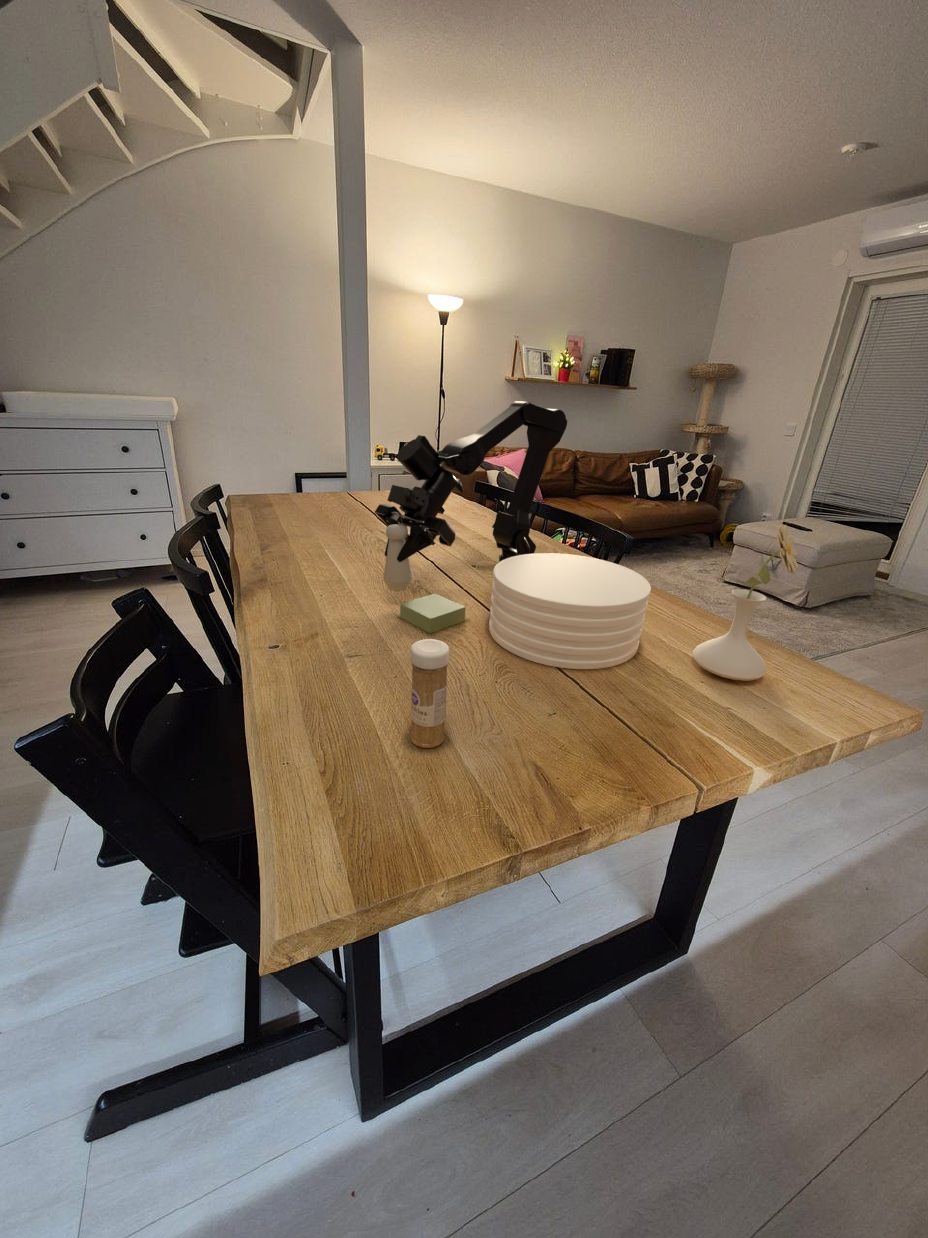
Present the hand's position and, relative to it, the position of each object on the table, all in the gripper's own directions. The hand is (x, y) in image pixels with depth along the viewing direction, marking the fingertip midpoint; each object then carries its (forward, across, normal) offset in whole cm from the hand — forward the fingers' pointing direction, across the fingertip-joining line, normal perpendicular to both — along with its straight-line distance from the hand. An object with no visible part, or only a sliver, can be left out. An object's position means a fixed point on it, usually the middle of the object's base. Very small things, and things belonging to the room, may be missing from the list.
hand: (392, 558), depth 99 cm
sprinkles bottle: (+25, +36, -11) cm, 45 cm away
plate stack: (-3, +31, +18) cm, 36 cm away
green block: (+6, +10, +8) cm, 15 cm away
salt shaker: (+4, 0, +6) cm, 7 cm away
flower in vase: (-10, +59, +25) cm, 65 cm away
